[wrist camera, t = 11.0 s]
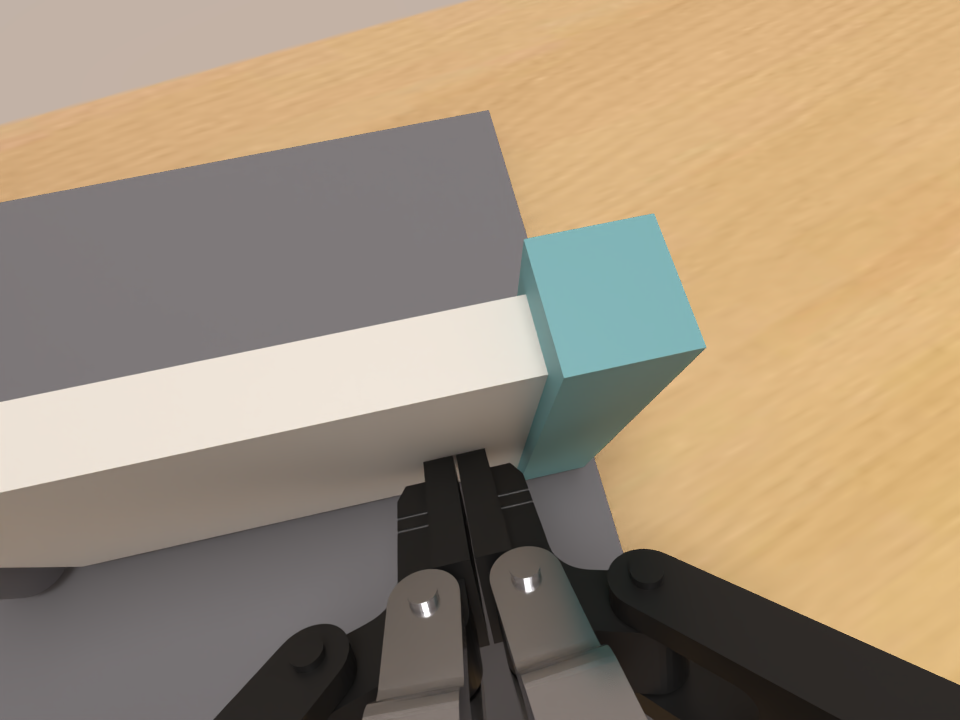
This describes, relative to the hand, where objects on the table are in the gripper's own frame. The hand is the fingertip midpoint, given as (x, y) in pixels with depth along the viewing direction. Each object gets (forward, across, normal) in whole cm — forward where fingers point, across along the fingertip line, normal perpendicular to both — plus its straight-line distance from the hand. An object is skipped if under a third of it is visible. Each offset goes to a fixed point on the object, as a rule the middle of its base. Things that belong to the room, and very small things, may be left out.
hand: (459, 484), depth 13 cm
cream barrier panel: (+3, +5, +1) cm, 6 cm away
